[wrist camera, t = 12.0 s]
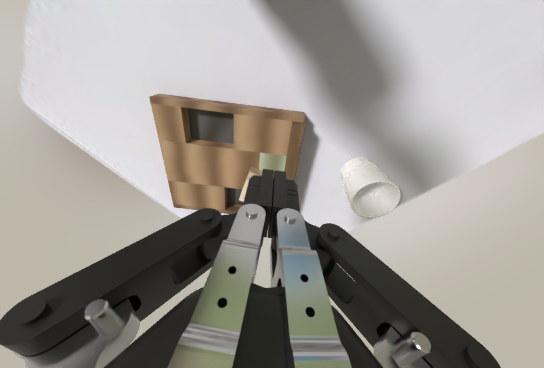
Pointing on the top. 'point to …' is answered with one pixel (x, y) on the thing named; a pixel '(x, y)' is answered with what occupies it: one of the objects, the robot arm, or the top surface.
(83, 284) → the robot arm
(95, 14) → the top surface
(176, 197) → the box
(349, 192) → the white cup
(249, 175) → the birch block
